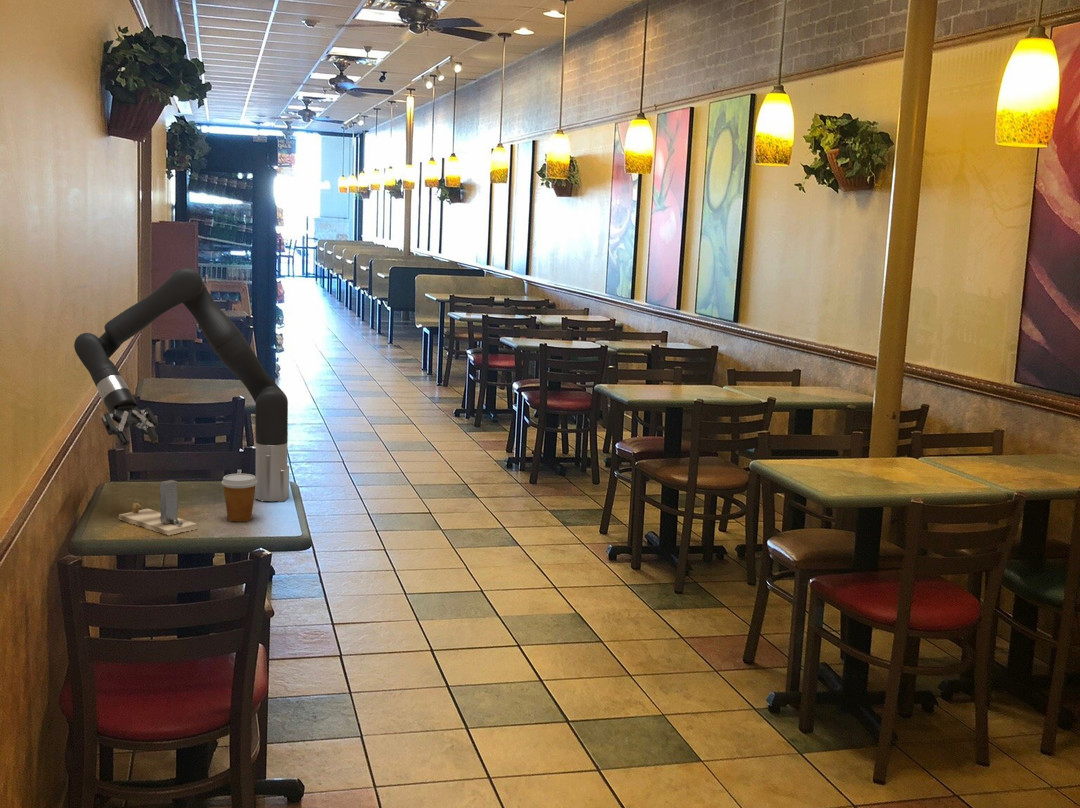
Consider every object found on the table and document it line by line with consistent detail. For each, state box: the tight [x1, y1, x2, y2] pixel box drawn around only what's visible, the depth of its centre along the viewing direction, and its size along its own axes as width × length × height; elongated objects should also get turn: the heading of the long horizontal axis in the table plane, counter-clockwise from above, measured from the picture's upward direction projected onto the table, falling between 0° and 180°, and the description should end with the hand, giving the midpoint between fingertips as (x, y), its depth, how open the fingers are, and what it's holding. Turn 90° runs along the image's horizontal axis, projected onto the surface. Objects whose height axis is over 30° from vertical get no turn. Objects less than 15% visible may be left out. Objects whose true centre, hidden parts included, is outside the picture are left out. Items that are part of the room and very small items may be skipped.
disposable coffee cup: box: [221, 473, 257, 523], centre depth 295 cm, size 10×10×12 cm
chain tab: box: [159, 479, 183, 526], centre depth 283 cm, size 9×4×11 cm, turn 55°
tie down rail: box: [118, 502, 199, 535], centre depth 287 cm, size 22×9×4 cm, turn 55°
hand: (141, 442), depth 288 cm, fingers open, 8 cm apart
